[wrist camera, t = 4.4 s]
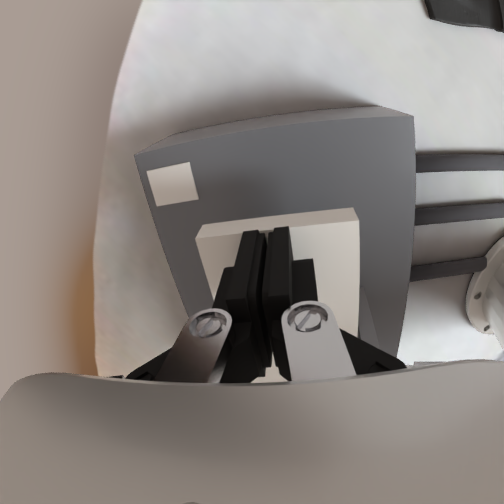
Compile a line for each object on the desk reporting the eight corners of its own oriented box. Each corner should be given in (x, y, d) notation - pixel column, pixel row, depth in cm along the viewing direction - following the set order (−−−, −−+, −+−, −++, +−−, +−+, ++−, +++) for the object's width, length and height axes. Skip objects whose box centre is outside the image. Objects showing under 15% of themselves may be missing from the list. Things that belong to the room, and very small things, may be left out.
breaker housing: (379, 105, 17) (465, 135, 8) (376, 347, 28) (395, 446, 19) (172, 134, 20) (80, 187, 11) (237, 358, 31) (218, 455, 21)
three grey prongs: (514, 153, 17) (523, 157, 16) (498, 262, 22) (504, 270, 21) (382, 154, 19) (387, 159, 18) (382, 279, 24) (385, 288, 23)
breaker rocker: (353, 207, 12) (359, 221, 10) (346, 420, 19) (347, 435, 18) (202, 224, 13) (194, 239, 12) (263, 424, 20) (262, 439, 19)
